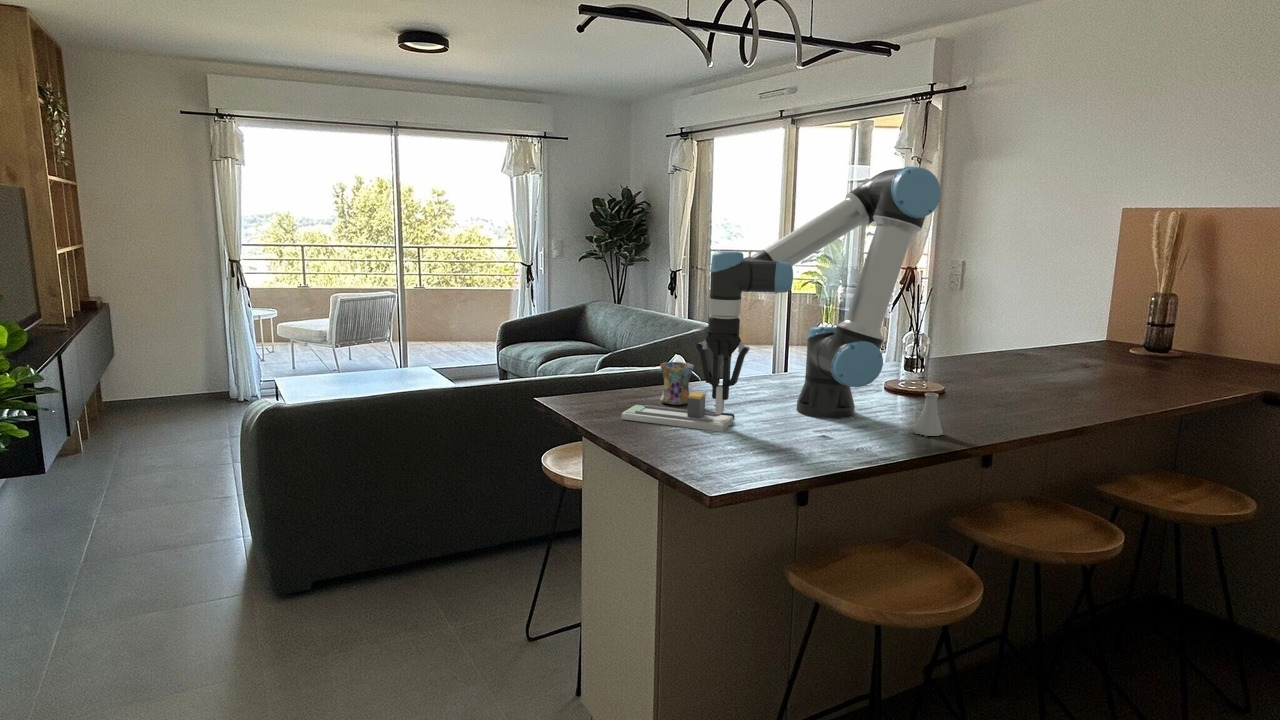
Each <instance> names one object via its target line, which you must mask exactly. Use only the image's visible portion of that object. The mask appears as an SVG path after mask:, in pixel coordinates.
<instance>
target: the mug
mask: <svg viewBox="0 0 1280 720" xmlns="http://www.w3.org/2000/svg"><path fill="white" fill-rule="evenodd" d="M659 366H660V369H661V371H662V376H663V391H662V395H661V396H660V401H661V402H662V403H664V404H667V405H672V406H683V405H688V395H690V390H689V389H690V388H689V384H690V379H691V375H692V373H693V370H694V368H695V365H694V364H692V363H689V362H683V361H682V362H681V361H680V362H679V361H667V362H662V363H660V364H659Z"/></svg>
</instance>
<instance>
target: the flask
mask: <svg viewBox="0 0 1280 720" xmlns="http://www.w3.org/2000/svg"><path fill="white" fill-rule="evenodd" d="M924 396H925V400H924V405H923V409H922V411H921V413H920V415H919V416H918V419H917V421H916V423H915V425H914V426H913V428H912V432H913V431H914V433H918V434H921V435H926V436H925V437H927V435H928V436H939V435H942V434H943V435H944V432H943V428H942V424H941V420H940V416H939V411H938V403H937V402H938V398H939V396H940V395H939V393H935V392H926V393H924ZM914 433H913V434H914ZM921 435H920V436H921Z"/></svg>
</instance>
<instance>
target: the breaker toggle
mask: <svg viewBox="0 0 1280 720" xmlns="http://www.w3.org/2000/svg"><path fill="white" fill-rule="evenodd" d="M706 395H707V393H706V392H702V391H692V392H691V393H689V395H688V404H687V409H688V414H687V417H693V418H701V417H702V416H704V415H705V411H706V397H707V396H706Z"/></svg>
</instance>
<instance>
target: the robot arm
mask: <svg viewBox="0 0 1280 720" xmlns="http://www.w3.org/2000/svg"><path fill="white" fill-rule="evenodd" d="M941 197H942V190H941V185H940V182H939V180H938V178H937V177H936V175H935V174H934V173H933V172H932V171H931V170H929V169H927V168H925V167H921V166H920V167H919V166H905V167H902V168H895V169H887V170H883V171H882V172H880V173H879V172H878V173H877V174H876V175H874V176H872V177H871V178H870V179H868V180H867V181H865V182H863V183H862V184H860V185H859V186H858V187H856V188H854V189H853V190H851V191H850V192H848V193H847V194H846V195H845V199H844V200H843V201H841V202H839V203H837V204H836V205H834V206H833V207H831V208H829V209H827V210H826V211H824V212H823V213H821V214H819V215H818V216H816V217H815V218H812V219H811V220H810V221H807V222H806V223H805V224H803V225H801V226H800V227H797V228H796V229H795V230H793V231H791V232H790V233H788V234H787V235H785V236H783V237H781V238H780V239H778V240H776V241H775V242H773V243H772V244H769V245H768V246H766V247H765V248H763V249H761V250H760V251H758V252H757V253H755V254H753V255H751V256H747V257H744V253H743V252H741V251H729V250H728V251H727V250H726V251H721V250H720V251H719V250H718V251H715V252H714V253H713V254H712V256H711V265H710V269H709V272H710V285H709V286H710V287H709V300H708V301H709V302H708V303H709V305H708V314H709V315H710V316H709V318H708V320H707V322H708V325H707V335H706V337H705V340H703V341H702V342H701V341H700V342H698V343H697V344H696V349H697V350H698V352H699V354H700V359H701V360H700V361H701V365H702V366H701V367H702V371H703V372H702V373H703V376H704V381H705V383H707V384H710V385H711V387H712V389H711V392H712V393H711V398H712V399H713V400H715V408H714V409H715V410H714V412H715V413H719V414H721V413H725V412H724V411H725V401H727V400H728V399H729V395H730V387H732V386H735V385H736V384H737V383H738V380H739V377H740V374H741V370H742V367H743V363H744V360H745V358H746V357H745V356H746V355H747V354H748V352H749V351H750V346H747V345H745V344H743V342H742V339H741V337H740V330H741V329H740V328H741V327H740V326H741V318H739V317H740V316H741V309H742V307H741V305H742V292H744V293H771V294H772V293H773V294H778V293H779V294H781V293H783V294H784V293H788V292H789V291H790V290H791V288H792V286H793V282H794V281H793V280H794V270H793V266H795V265H797V264H798V263H800V262H801V261H803V260H805V259H806V258H809V257H810V256H811V255H813V254H815V253H816V252H818V251H820V250H821V249H823V248H824V247H826V246H828V245H830V244H831V243H833V242H835V241H836V240H838V239H839V238H841V237H843V236H844V235H846V234H848V233H849V232H851V231H853V230H855V229H856V228H858V227H859V226H861V227H867V226H869V225H870V224H873V223H875V225H876V227H875V231H874V233H873V236H872V238H871V239H872V240H871V242H870V244H869V248H868V251H867V254H866V257H865V260H864V262H863V267H862V269H861V272H860V275H859V278H858V281H857V284H856V286H855V290H854V292H853V296H852V299H851V302H850V305H849V308H848V311H847V314H846V317H845V319H844V320H843V321H841V322H839V323H837V324H836V326H813V327H811V328H809V330H808V335H807V339H806V341H807V345H806V346H807V348H806V360H805V361H806V363H805V377H804V384H803V387H802V389H801V390H800V394H799V396H798V398H797V400H796V411H797V412H798V413H801V414H802V415H806V416H810V417H815V418H823V419H846V418H851V417H853V416H855V411H856V410H855V407H856V405H855V402H854V397H853V393H852V389H851V388H863V387H865V386H867V385H869V384H871V383H873V382H874V381H875V380H876V379H877V378H878V377H879V375H880V374H881V372H882V371H883V370H882V369H883V366H884V357H883V355H882V352H881V348H882V345H883V343H884V336H883V334H882V332H881V328H882V325H883V322H884V319H885V316H886V313H887V310H888V308H889V304H890V301H891V298H892V296H893V292H894V289H895V287H896V283H897V281H898V279H899V274H900V273H901V270H902V266H903V263H904V260H905V257H906V255H907V252H908V250H909V246H910V243H911V239H912V237H913V235H915V234H917V233H918V232H920V231H922V228H923V226H924V222H925V220H926V217H927V216H929V215H930V214H932V213H933V212H935V211H936V209H937V208H938V206H939V204H940V201H941ZM708 348H709V349H710V351H711V352H712V361H713V362H712V369H711V365H710V358H709V357H710V356H709V352H708ZM737 349H738V350H737ZM736 350H737V352H738V355H737V358H736V362H735V365H734V368H733V371H732V374H731V370H732V369H731V368H732V366H731V365H732V363H731V362H732V357H733V356H732V355H733V354H734V352H735V351H736ZM722 356H723V359H722ZM722 360H723V370H722V384H721V381H720V378H721V376H720V375H721V362H722Z"/></svg>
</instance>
